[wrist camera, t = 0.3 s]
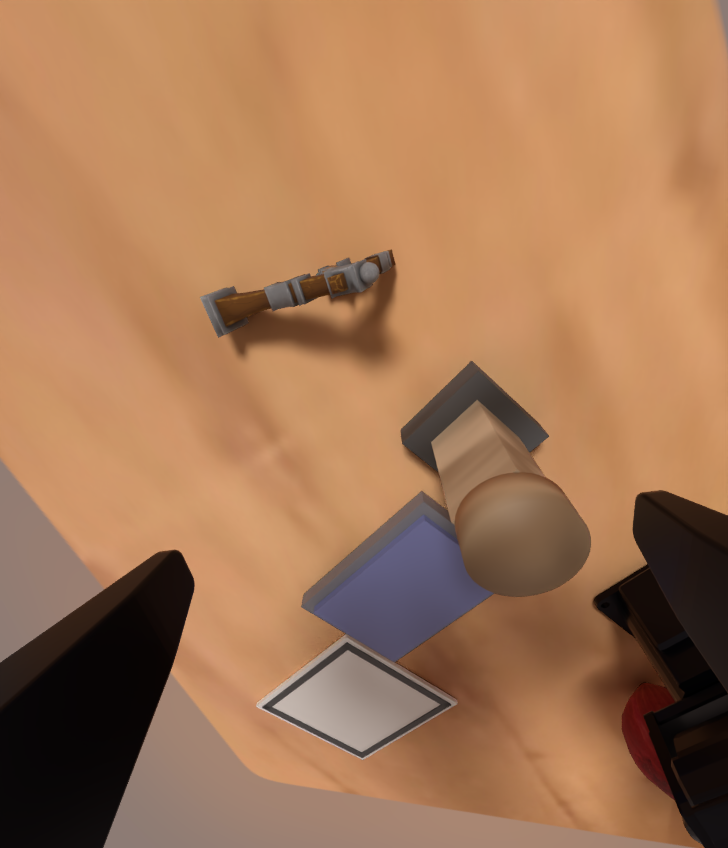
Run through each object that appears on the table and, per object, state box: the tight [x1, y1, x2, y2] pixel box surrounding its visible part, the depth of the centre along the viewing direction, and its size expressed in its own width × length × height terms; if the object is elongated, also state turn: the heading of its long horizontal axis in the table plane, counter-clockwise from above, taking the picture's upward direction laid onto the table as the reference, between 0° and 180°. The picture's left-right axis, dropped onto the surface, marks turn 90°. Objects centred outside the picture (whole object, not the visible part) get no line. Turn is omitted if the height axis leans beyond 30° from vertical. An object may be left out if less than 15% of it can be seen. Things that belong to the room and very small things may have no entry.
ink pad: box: [301, 491, 494, 663], centre depth 25 cm, size 8×11×2 cm
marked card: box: [256, 634, 458, 760], centre depth 32 cm, size 11×11×1 cm
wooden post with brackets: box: [200, 250, 395, 338], centre depth 17 cm, size 2×8×4 cm, turn 107°
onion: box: [622, 683, 675, 800], centre depth 27 cm, size 6×6×8 cm
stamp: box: [401, 361, 591, 597], centre depth 17 cm, size 5×5×9 cm
